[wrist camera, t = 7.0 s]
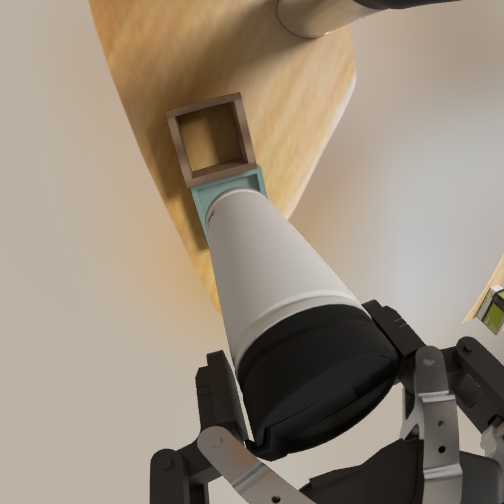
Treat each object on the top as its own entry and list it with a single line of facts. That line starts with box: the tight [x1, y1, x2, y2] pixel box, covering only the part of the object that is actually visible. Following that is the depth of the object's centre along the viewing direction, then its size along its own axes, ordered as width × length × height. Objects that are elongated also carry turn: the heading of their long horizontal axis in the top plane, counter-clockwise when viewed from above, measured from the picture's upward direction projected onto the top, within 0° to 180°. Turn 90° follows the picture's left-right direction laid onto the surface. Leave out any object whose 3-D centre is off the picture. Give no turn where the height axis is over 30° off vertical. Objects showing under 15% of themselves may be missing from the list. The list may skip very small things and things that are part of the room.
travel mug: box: [205, 186, 398, 462], centre depth 17 cm, size 6×7×20 cm
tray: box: [190, 164, 268, 246], centre depth 42 cm, size 11×11×2 cm
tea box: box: [476, 285, 504, 335], centre depth 76 cm, size 15×10×15 cm, turn 175°
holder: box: [165, 92, 257, 188], centre depth 35 cm, size 11×10×5 cm
